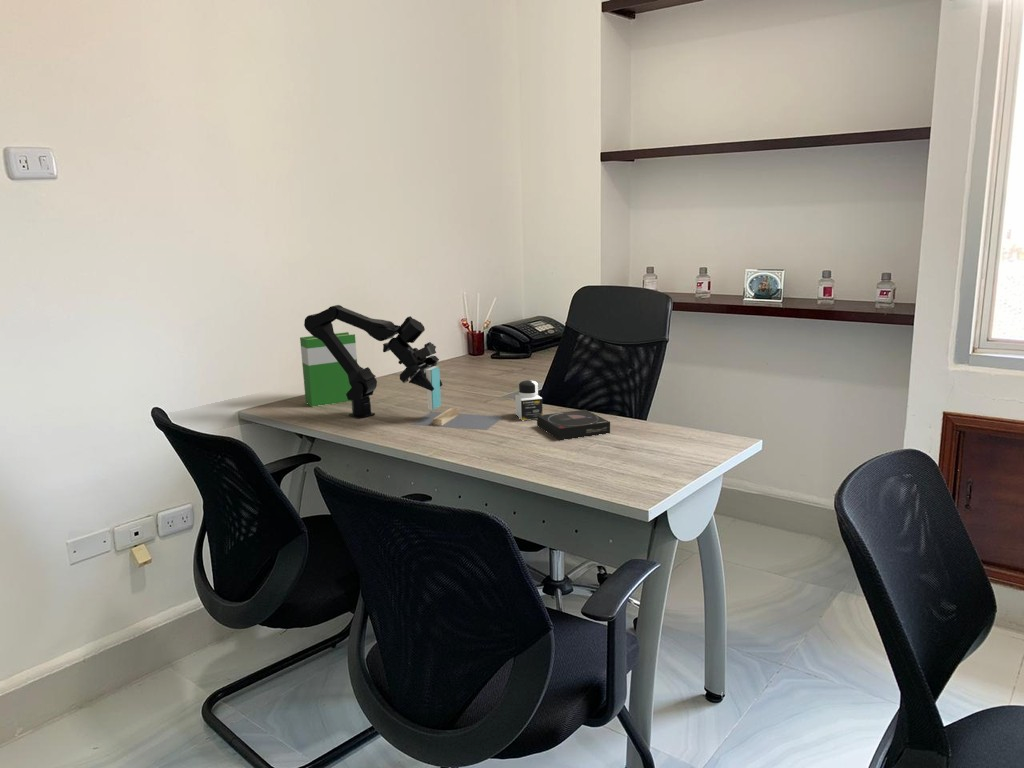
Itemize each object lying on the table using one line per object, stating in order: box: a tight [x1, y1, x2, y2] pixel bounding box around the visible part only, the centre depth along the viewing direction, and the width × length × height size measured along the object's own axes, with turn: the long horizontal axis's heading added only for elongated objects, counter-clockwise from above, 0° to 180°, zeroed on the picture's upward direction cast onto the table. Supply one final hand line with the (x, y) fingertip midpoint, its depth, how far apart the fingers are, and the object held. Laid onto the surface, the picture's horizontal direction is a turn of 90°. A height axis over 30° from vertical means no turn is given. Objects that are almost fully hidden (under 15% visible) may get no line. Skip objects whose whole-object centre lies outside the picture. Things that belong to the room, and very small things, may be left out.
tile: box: [426, 365, 442, 411], centre depth 246 cm, size 2×6×13 cm, turn 161°
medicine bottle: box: [514, 379, 544, 421], centre depth 248 cm, size 7×7×12 cm
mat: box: [410, 411, 505, 431], centre depth 246 cm, size 26×16×1 cm, turn 71°
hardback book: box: [299, 331, 358, 407], centre depth 275 cm, size 18×7×24 cm, turn 122°
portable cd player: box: [536, 409, 611, 441], centre depth 234 cm, size 16×17×4 cm
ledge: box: [433, 407, 460, 426], centre depth 247 cm, size 3×14×2 cm, turn 161°
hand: (437, 387), depth 246 cm, fingers closed on tile, 6 cm apart
